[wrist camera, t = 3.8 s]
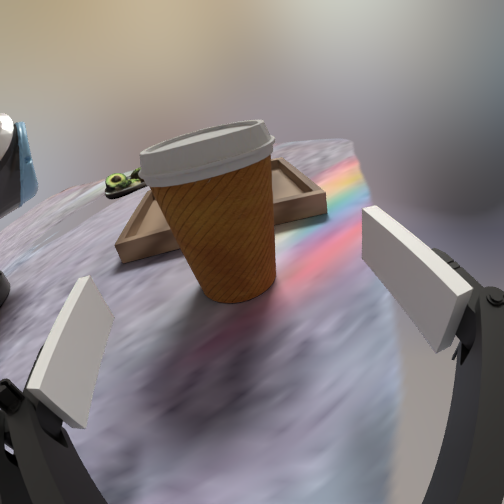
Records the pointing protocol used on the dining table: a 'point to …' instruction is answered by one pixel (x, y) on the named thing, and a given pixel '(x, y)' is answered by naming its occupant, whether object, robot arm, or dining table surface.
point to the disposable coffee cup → (219, 205)
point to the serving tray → (162, 239)
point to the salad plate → (123, 184)
